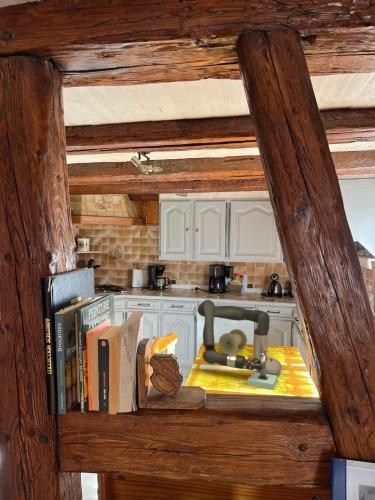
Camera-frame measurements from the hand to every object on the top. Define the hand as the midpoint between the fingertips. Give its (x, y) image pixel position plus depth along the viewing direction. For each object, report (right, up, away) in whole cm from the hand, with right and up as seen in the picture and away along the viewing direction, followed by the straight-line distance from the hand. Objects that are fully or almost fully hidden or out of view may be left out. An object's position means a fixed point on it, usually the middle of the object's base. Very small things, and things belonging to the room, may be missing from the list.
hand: (263, 365), depth 191 cm
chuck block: (0, -10, 0) cm, 10 cm away
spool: (-10, -10, +58) cm, 60 cm away
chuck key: (-1, -10, 0) cm, 10 cm away
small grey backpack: (+7, -10, +16) cm, 21 cm away
